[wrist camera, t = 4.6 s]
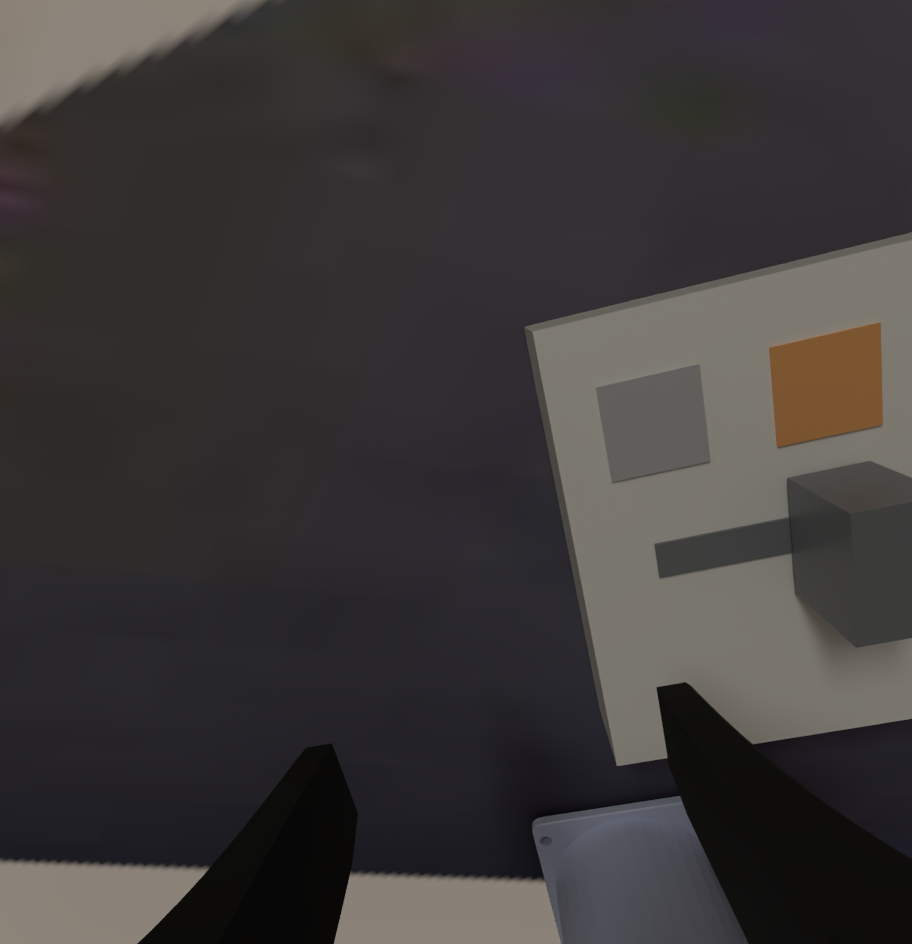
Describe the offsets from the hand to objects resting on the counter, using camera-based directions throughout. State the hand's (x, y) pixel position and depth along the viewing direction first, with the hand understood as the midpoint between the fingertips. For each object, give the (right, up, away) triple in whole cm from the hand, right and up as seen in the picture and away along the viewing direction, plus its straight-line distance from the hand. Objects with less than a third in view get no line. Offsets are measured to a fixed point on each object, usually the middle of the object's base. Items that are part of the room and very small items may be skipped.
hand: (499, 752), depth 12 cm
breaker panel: (+10, +5, +8) cm, 14 cm away
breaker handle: (+11, +4, +5) cm, 13 cm away
